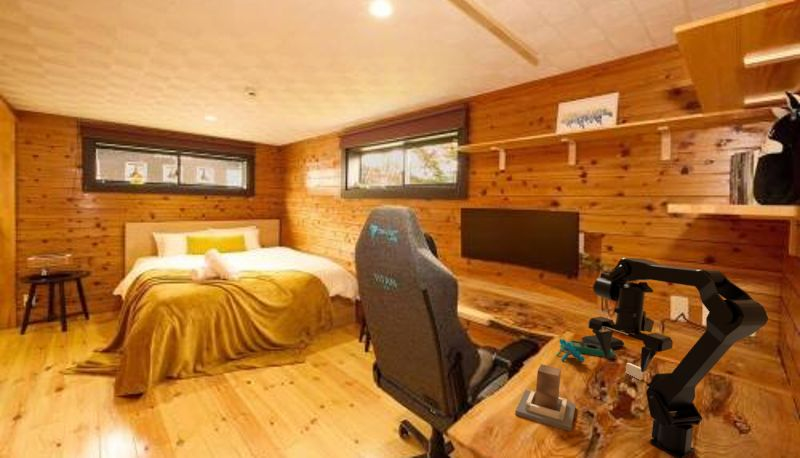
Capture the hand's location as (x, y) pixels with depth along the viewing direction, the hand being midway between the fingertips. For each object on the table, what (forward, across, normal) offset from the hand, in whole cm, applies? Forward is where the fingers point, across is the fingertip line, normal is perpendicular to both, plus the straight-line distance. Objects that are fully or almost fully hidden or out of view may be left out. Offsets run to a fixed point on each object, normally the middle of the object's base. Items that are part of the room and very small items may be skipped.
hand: (624, 364), depth 99 cm
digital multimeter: (+14, +30, -34) cm, 47 cm away
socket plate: (+13, +9, +18) cm, 24 cm away
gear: (+13, +29, -19) cm, 37 cm away
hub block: (+12, +9, +18) cm, 23 cm away
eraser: (+13, +11, -27) cm, 32 cm away
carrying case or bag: (+14, +34, -46) cm, 59 cm away
